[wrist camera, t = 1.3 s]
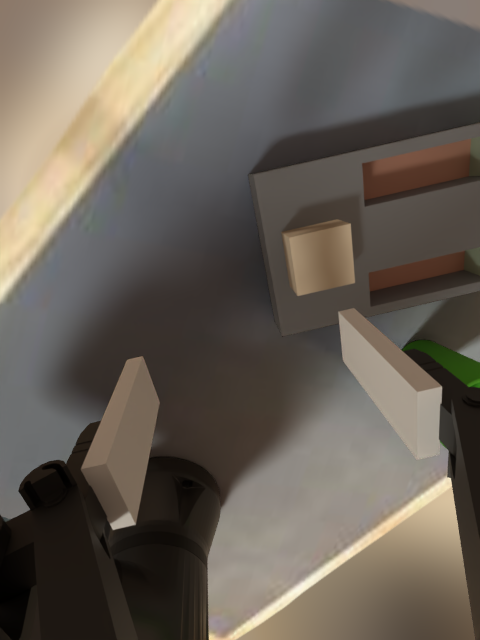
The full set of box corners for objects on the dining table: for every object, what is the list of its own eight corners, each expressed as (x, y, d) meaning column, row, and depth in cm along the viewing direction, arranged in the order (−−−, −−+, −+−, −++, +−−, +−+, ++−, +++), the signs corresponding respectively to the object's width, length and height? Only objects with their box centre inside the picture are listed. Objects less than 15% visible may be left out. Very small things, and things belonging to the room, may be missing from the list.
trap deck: (274, 321, 38) (285, 343, 32) (247, 175, 32) (256, 174, 27) (523, 263, 38) (572, 277, 33) (543, 107, 32) (606, 94, 27)
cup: (403, 314, 39) (473, 363, 29) (467, 335, 41) (554, 387, 31) (367, 380, 42) (419, 445, 32) (428, 396, 44) (496, 463, 34)
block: (289, 285, 32) (297, 296, 29) (281, 232, 30) (289, 237, 27) (342, 273, 32) (355, 282, 29) (337, 219, 30) (350, 223, 27)
